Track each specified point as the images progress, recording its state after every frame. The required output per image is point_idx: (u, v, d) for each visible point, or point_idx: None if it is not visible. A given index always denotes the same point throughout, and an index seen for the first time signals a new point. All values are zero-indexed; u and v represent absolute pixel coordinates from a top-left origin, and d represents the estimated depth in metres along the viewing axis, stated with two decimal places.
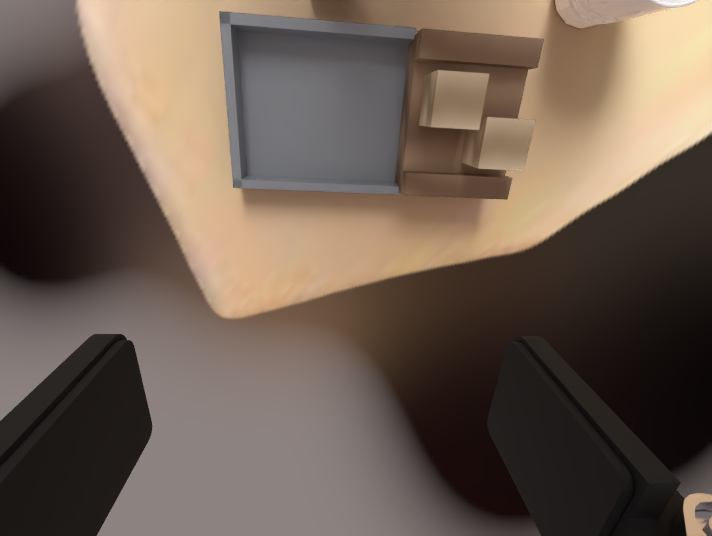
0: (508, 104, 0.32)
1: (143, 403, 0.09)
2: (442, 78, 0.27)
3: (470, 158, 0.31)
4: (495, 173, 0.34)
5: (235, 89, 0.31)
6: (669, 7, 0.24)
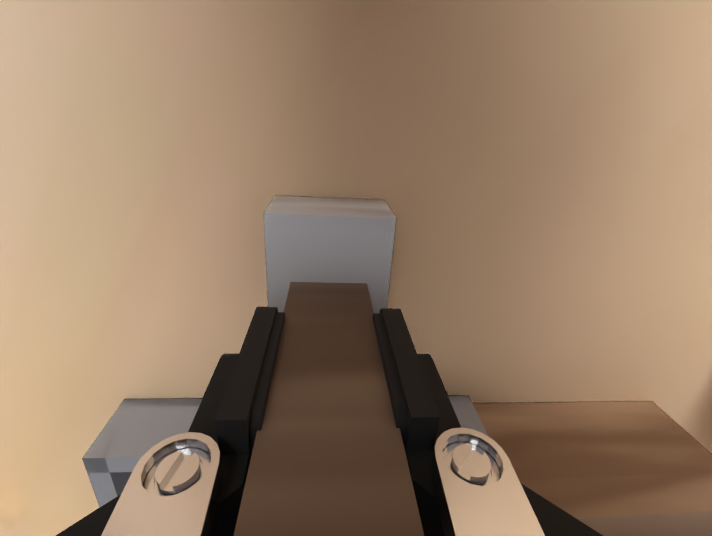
0: None
1: None
2: None
3: None
4: None
5: None
6: None
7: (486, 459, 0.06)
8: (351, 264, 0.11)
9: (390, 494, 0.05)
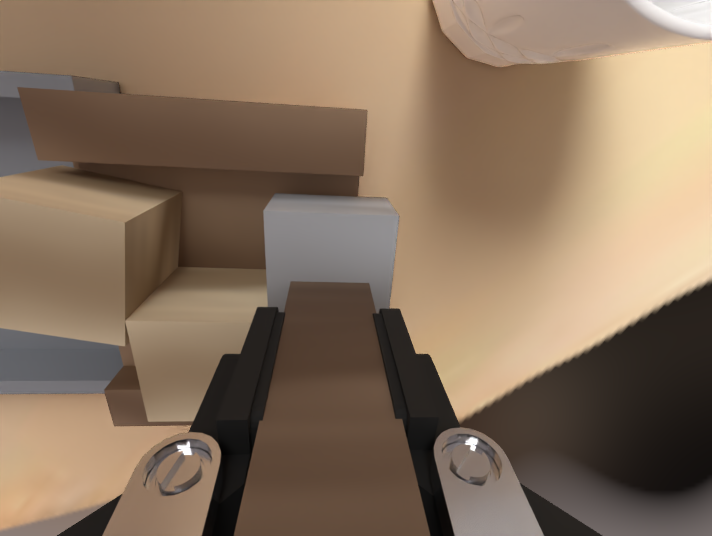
0: None
1: None
2: None
3: None
4: None
5: None
6: (709, 39, 0.07)
7: (485, 460, 0.06)
8: (353, 263, 0.11)
9: (397, 503, 0.05)
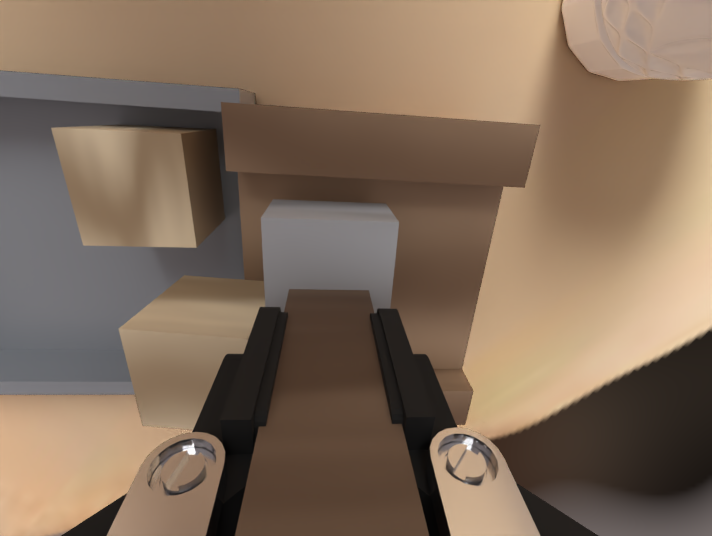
0: (462, 248, 0.15)
1: None
2: None
3: None
4: (442, 366, 0.17)
5: None
6: None
7: (481, 459, 0.06)
8: (352, 270, 0.11)
9: (400, 527, 0.05)
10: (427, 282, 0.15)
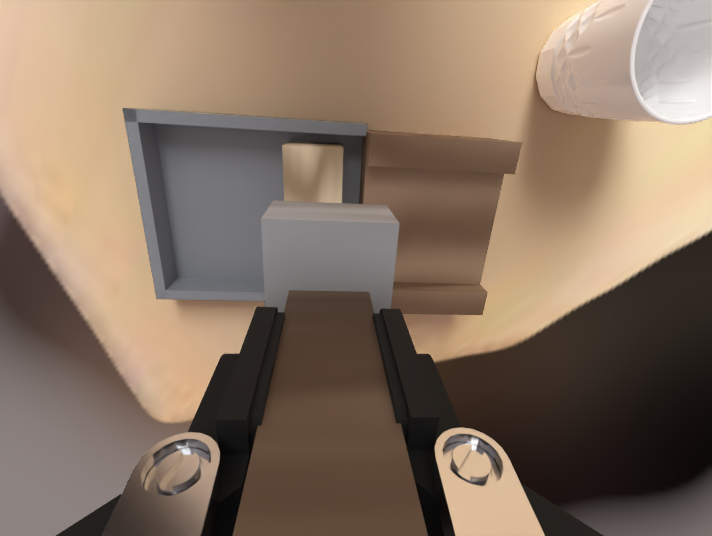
0: (481, 209, 0.26)
1: None
2: None
3: None
4: (468, 282, 0.29)
5: (150, 193, 0.25)
6: (677, 123, 0.19)
7: (486, 459, 0.06)
8: (352, 271, 0.11)
9: (399, 530, 0.05)
10: (461, 229, 0.27)
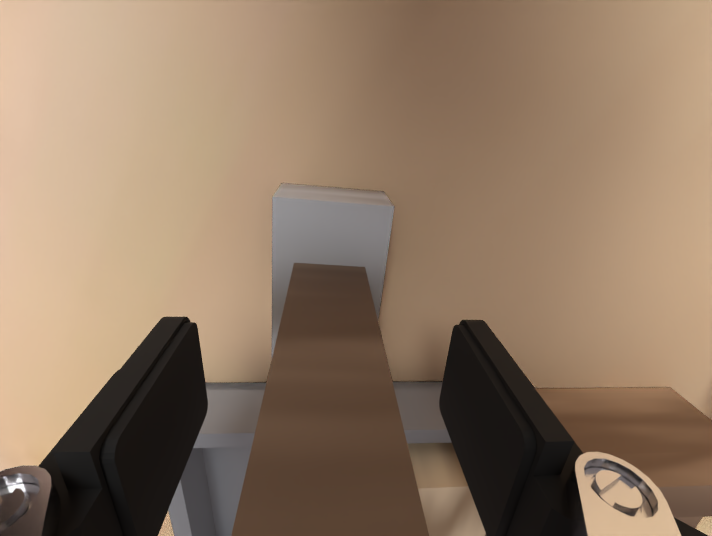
0: (680, 520, 0.18)
1: (202, 381, 0.09)
2: None
3: None
4: None
5: (190, 515, 0.17)
6: None
7: (636, 495, 0.05)
8: (351, 248, 0.12)
9: (382, 428, 0.06)
10: None
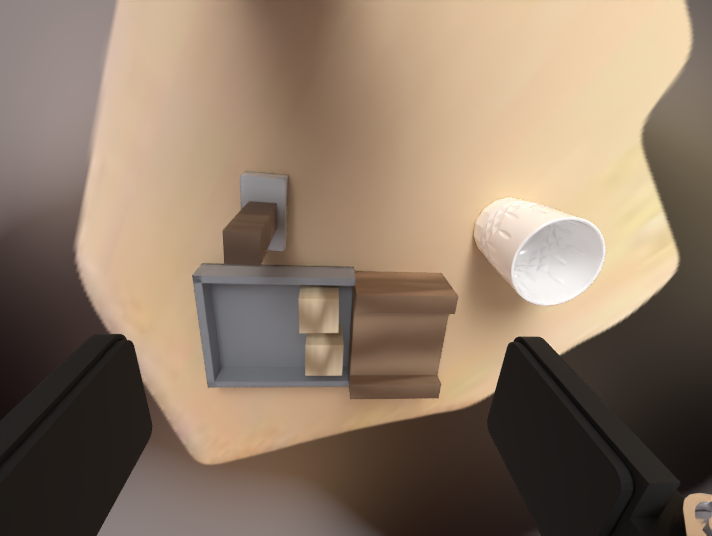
0: (435, 329, 0.38)
1: (143, 403, 0.09)
2: None
3: None
4: (429, 374, 0.40)
5: (207, 322, 0.37)
6: None
7: None
8: (270, 195, 0.33)
9: (259, 224, 0.26)
10: (422, 341, 0.39)
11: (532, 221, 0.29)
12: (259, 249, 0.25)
